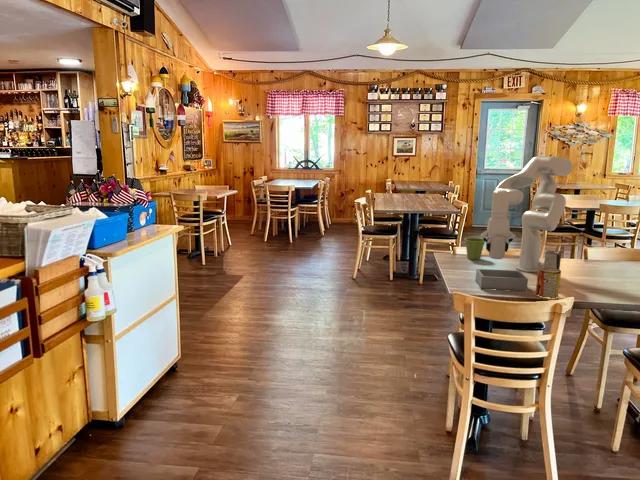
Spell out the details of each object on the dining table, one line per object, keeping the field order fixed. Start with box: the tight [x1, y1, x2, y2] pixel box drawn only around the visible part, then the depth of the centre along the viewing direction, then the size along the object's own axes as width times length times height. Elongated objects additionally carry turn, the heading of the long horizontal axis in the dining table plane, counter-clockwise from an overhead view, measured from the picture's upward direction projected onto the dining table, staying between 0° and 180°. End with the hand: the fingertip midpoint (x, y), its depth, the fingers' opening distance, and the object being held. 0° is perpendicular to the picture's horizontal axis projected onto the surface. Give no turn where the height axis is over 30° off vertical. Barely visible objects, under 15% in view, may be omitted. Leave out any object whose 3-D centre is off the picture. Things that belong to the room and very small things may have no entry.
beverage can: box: [535, 267, 562, 298], centre depth 205 cm, size 9×9×12 cm
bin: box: [475, 268, 529, 292], centre depth 219 cm, size 20×14×6 cm
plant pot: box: [463, 237, 486, 261], centre depth 272 cm, size 12×12×11 cm
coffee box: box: [543, 249, 562, 270], centre depth 221 cm, size 9×6×16 cm
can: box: [488, 235, 506, 260], centre depth 231 cm, size 8×8×12 cm
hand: (496, 250), depth 231 cm, fingers closed on can, 7 cm apart
